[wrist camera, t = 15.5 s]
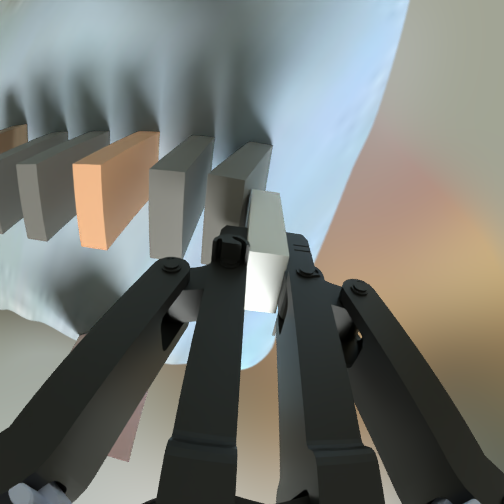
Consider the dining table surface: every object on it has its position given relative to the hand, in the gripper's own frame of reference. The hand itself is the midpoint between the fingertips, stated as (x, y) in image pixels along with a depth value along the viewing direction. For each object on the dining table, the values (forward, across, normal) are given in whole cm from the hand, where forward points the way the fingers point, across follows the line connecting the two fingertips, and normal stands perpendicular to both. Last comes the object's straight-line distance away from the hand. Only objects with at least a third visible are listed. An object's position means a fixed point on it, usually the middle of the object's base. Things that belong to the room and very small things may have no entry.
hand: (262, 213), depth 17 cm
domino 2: (+8, -14, 0) cm, 16 cm away
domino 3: (+8, -5, 0) cm, 9 cm away
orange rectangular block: (+8, -9, 0) cm, 12 cm away
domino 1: (+8, -18, 0) cm, 20 cm away
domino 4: (+8, 0, 0) cm, 8 cm away
